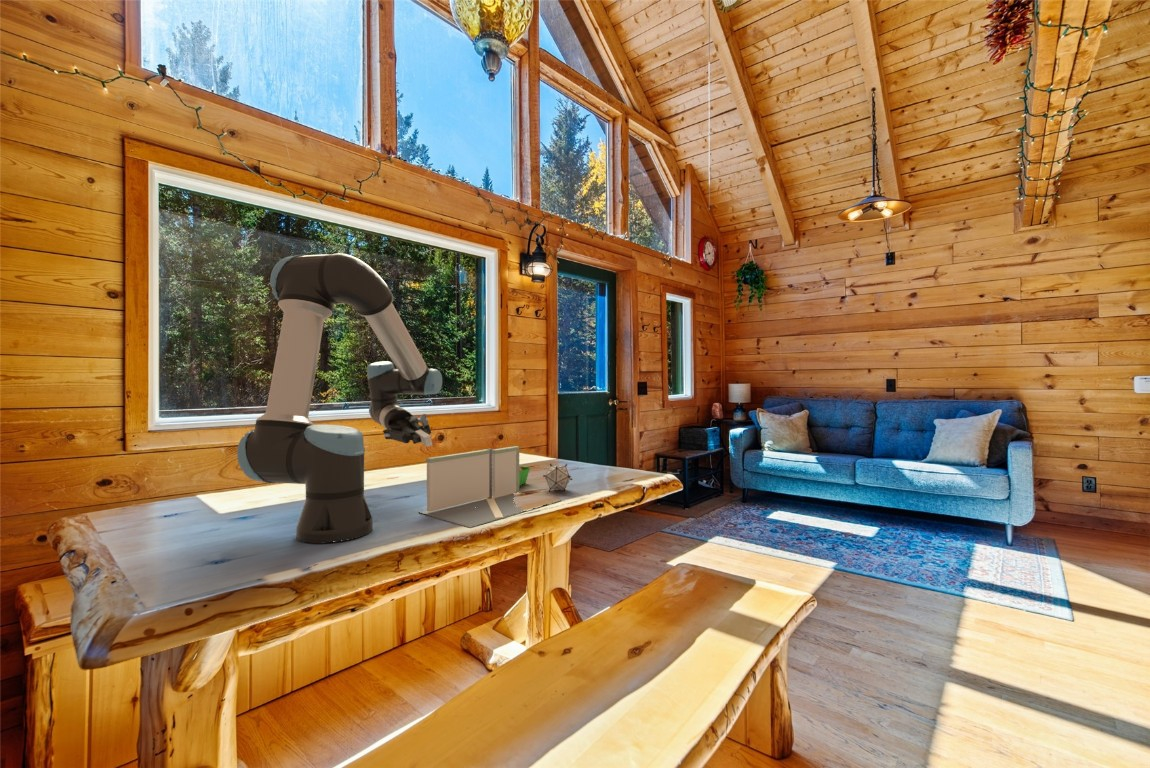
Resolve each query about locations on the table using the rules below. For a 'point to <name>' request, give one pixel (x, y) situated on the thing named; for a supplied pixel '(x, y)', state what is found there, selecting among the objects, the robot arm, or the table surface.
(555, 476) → the game die
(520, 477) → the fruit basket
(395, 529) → the table surface
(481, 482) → the beige flat upright board
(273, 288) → the robot arm
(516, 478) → the fixed fence panel
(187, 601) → the table surface
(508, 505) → the board
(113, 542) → the table surface
